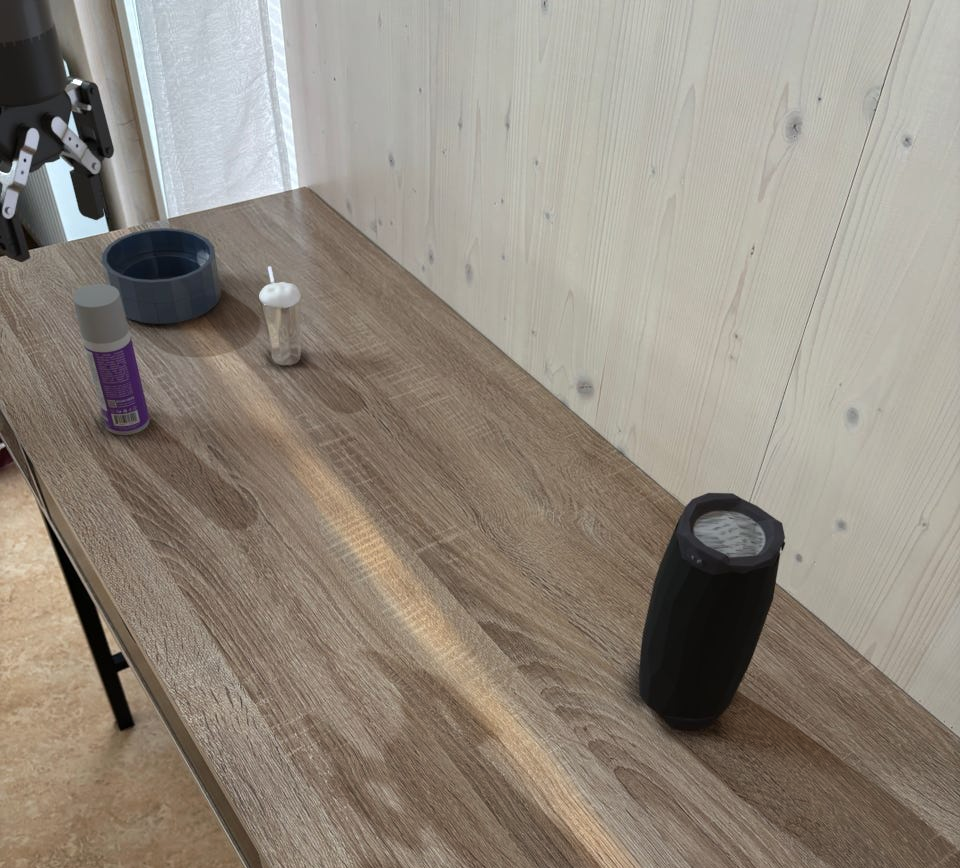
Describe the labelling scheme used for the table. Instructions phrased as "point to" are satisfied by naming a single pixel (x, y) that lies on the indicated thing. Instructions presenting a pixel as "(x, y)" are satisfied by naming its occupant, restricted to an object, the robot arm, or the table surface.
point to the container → (111, 358)
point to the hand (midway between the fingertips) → (56, 237)
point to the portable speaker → (708, 608)
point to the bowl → (163, 274)
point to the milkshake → (282, 320)
